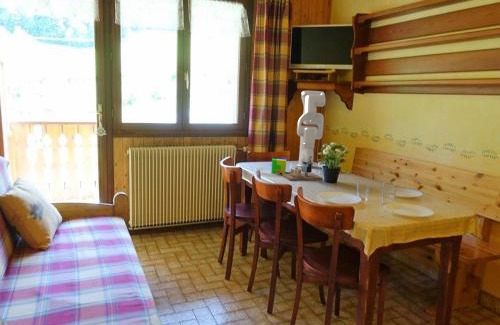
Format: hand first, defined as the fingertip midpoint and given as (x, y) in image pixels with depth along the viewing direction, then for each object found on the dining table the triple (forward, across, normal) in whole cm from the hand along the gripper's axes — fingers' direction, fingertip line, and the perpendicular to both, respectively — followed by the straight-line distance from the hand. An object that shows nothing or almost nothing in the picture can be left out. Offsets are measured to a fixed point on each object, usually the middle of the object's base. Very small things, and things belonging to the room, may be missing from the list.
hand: (306, 170), depth 271 cm
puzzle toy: (+5, -18, -14) cm, 24 cm away
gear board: (+5, 0, -3) cm, 6 cm away
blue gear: (+1, 0, 0) cm, 1 cm away
